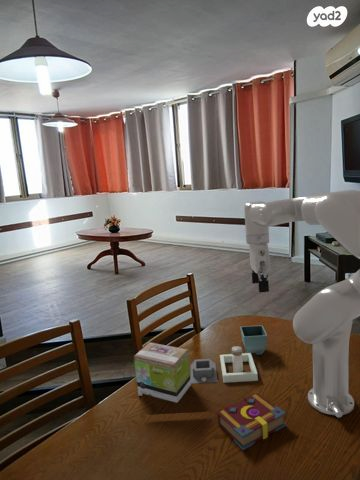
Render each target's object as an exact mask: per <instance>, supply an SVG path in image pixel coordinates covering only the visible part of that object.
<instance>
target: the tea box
mask: <svg viewBox="0 0 360 480" xmlns="http://www.w3.org/2000/svg"><path fill="white" fill-rule="evenodd" d="M189 359H190V358H189V350H188V349H187V348H183V347H182V348H181V347H177V346H171V345H167V344H166V345H165V344H161V343H156V342H151V341H150V342H148V343H147V344H146V345H145V346H143V348H142V349H140V350H139V351H138V352H137V353H136V354H135V355H133V361H134V362H133V363H134V368H135V377H136V387H137V392H138V393H137V394H138V396H141V397H142V396H143V394H144V395H147V396H151V397H154V398H158V399H161V400H165V401H170V402H173V403H178V402H179V401H180V400H182V397H183V396H184V395H185V394H186V392H187V391H188V390H189V388H190V387H192V385H191V384H192V383H191V382H190V380H191V369H190V360H189Z"/></svg>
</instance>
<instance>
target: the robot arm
mask: <svg viewBox="0 0 360 480" xmlns="http://www.w3.org/2000/svg"><path fill="white" fill-rule="evenodd" d="M243 207H244V210H243V211H244V225H245V240H246V242H245V243H246V244H247V245H249V246H248V248H249V264H250V268H251V283H252V284H258V292H259V293H266V292H267V293H268V292H269V291H270V286H269V285H270V284H269V274H270V273H271V261H270V252H269V251H270V250H269V244H270V233H269V232H270V230H269V229H270V228H269V227H274V226H279V225H283V224H286V223H292V222H293V223H294V222H305V223H306V224H308V226H309V225H310V226H321V227H322V228H323V229H324V230H325V231H326V232H327V233H328V234H329V235H331V237H332V238H334V239H335V240H336V241H337V242H338V243H339V244H340V245H341V246H342V247H344V249H346V250H347V251H348V252H349V253H350V254H352V255H353V256H354V257H355V258H357V259H359V260H360V190H357V189H356V190H355V189H347V190H338V191H331V192H323V193H317V194H316V193H314V194H308V195H306V196H302V197H293V198H285V199H279V200H278V199H277V200H272V201H267V202H266V201H262V200H260V201H259V200H258V201H257V200H256V201H249V202H246V203H245V205H244V206H243ZM359 317H360V268H359V269H358V270H357V271H356V272H354V273H353V274H352V275H351V276H350V277H348V278H346V279H344V280H342V281H341V280H340V281H339V282H336V283H334V284H332V285H329V286H326V287H324V288H323V289H321V290H320V291H318V292H317V293H316V294H315V295H313V296H312V297H311V298H310V299H309V300H308V301H307V302H306V303H305V304H304V305H303V306H302V307H301V308H300V309H298V311H296V313H295V315H294V316H293V321H292V328H293V331H294V334H295V335H296V337H297V338H298V339H299V340H300V341H302V342H304V343H306V344H309V345H312V388H311V389H310V390H309V391H308V393H307V401H308V403H309V404H310V405H311V407H312V408H314V409H315V410H317V411H318V412H320V413H323V414H325V415H326V414H327V415H330V416H331V415H332V416H336V417H337V418H342V417H343V416H344V415H347V414H350V413H351V412H352V411H354V407H355V400H354V397H353V396H352V395H351V394H350V393H349V360H350V359H349V356H350V354H349V353H350V351H349V350H350V347H349V345H350V337H351V331H352V327H353V320H355V319H357V318H359Z"/></svg>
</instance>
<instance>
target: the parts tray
mask: <svg viewBox="0 0 360 480" xmlns="http://www.w3.org/2000/svg"><path fill="white" fill-rule="evenodd" d="M219 359H220V369H221V374H222V382H223V383H224V384H225V383H226V384H227V383H239V382H256V381H257V382H258V381H259V378H258V376H259V375H258V370H257V367H256V365H255V362H254V359H253V355H252V353H247V352H245V353H243V352H242V360H243V362H248V364H249V368H250V371H243V372H240V373H234V372H227V368H226V363H233V360H232V353H228V354H219Z"/></svg>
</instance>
